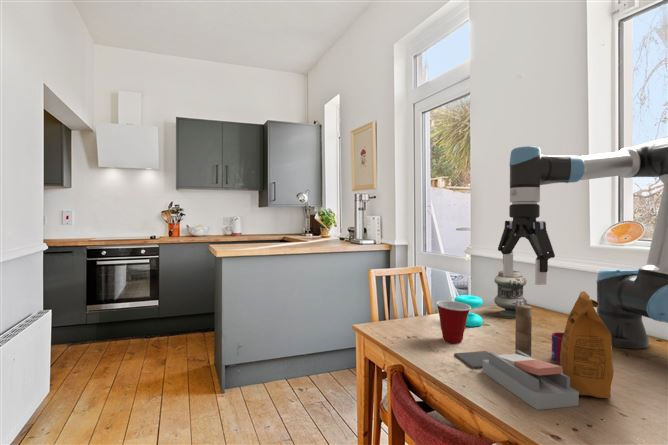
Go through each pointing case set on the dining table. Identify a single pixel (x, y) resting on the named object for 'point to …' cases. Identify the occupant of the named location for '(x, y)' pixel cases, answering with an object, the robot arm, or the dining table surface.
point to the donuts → (473, 302)
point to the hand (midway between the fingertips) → (523, 280)
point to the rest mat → (473, 358)
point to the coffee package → (587, 350)
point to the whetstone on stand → (532, 384)
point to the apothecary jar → (510, 293)
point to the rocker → (532, 365)
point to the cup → (556, 345)
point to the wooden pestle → (523, 329)
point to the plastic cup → (452, 320)
